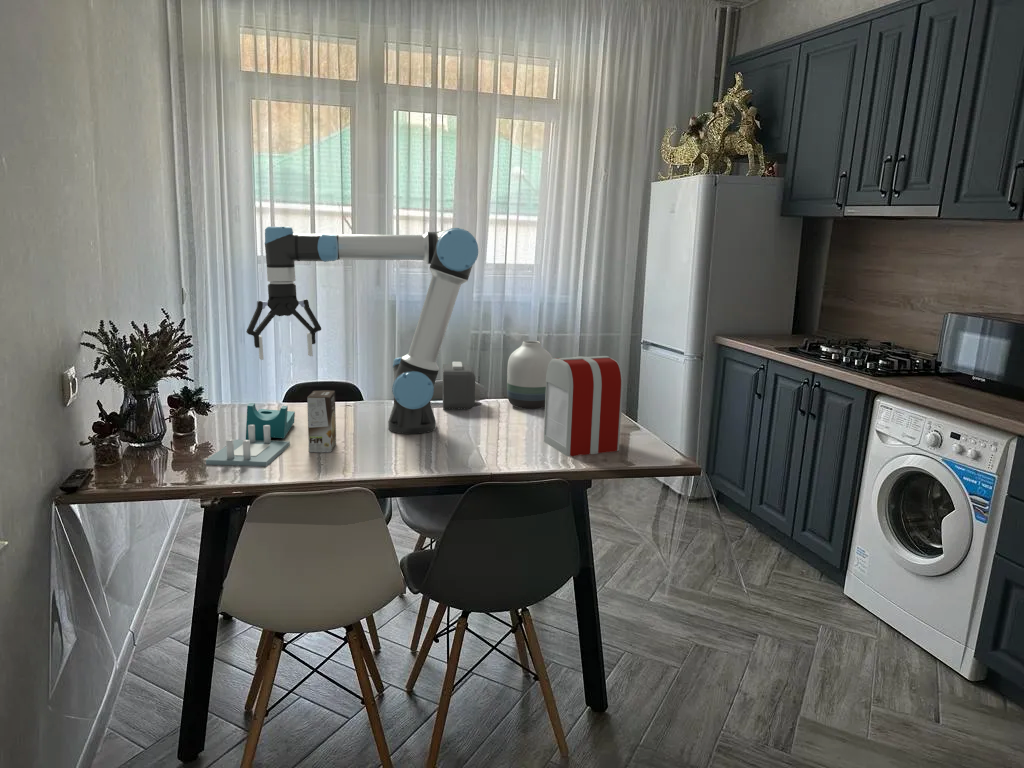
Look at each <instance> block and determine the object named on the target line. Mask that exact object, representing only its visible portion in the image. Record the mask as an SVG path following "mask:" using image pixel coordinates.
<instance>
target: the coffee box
mask: <svg viewBox="0 0 1024 768" xmlns="http://www.w3.org/2000/svg"><path fill="white" fill-rule="evenodd" d="M306 398H307V400H306V401H307V433H308V453H331V452H332V451H333V449H334V447H335V446H336V444H337V425H336V424H337V423H336V422H337V419H336V418H337V417H336V390H313V391H312V392H311V393H309V395H308V396H307V397H306Z"/></svg>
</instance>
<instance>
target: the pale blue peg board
mask: <svg viewBox="0 0 1024 768" xmlns="http://www.w3.org/2000/svg"><path fill="white" fill-rule="evenodd" d="M263 430H264V441H263V440H255V425H248V436H249V440H246V439H226V440H225V446H224V447H222V448H221V449H219V450H218V451H216V452H215V453H214V454H212V455H211V456H209V457H208V458H207V459H206V460H205V465H210V466H211V465H212V466H213V465H214V466H216V465H217V466H242V467H243V466H244V467H247V466H249V467H250V466H251V467H267V466H269V465H270V464H271V463H272V462H273V461H274V460H275V459H276V458H277V457H279V456H280V455H281V454H282V453H283V452H285V450H286V449H288V448H289V447H290V446H291V441H290V440H289V441H288V440H287V441H285V440H271V439H272V437H270V425H264V426H263Z"/></svg>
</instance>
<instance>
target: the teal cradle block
mask: <svg viewBox="0 0 1024 768" xmlns="http://www.w3.org/2000/svg"><path fill="white" fill-rule="evenodd" d="M256 407H257V406H256V403H254V402H249V403H248V404H247V406H246V427H245V440H249V436H248V425H255V440H263V441H264V430H263V426H264V425H270V437H271V438H278V439H285V437H286V436H287V435H288V432H289V431H290V430H291V428H292V427H293V425H294V423H295V417H296V412H295V411H291V410H288V405H282V406H281V407H280V408H279V410H277V409H268V408H267V409H265V408H259V409H257V408H256Z"/></svg>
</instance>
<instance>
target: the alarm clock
mask: <svg viewBox="0 0 1024 768" xmlns="http://www.w3.org/2000/svg"><path fill="white" fill-rule="evenodd" d="M474 371H475V370H474V368H473V367H472V365H470V364H464V363H463V362H462V361H452V364H451V363H450V364H449V363H446V364H445V363H443V364H442V410H469V409H472V408H473V407H474V406H475V402H476V375H475V372H474Z"/></svg>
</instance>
